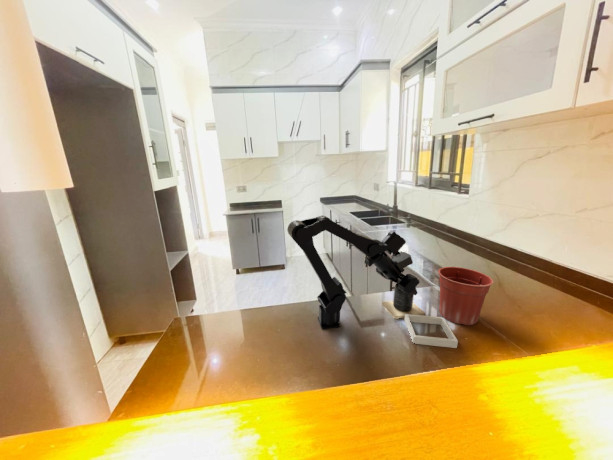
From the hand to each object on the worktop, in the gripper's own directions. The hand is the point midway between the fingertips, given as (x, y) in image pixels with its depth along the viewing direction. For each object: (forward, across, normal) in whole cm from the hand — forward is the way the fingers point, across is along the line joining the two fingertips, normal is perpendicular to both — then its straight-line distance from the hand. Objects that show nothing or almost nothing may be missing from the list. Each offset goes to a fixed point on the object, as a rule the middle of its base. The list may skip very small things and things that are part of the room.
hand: (408, 288), depth 94 cm
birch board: (+5, 0, +7) cm, 9 cm away
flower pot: (+18, -9, -5) cm, 20 cm away
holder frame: (+5, -14, +8) cm, 17 cm away
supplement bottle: (+4, 0, +7) cm, 8 cm away
